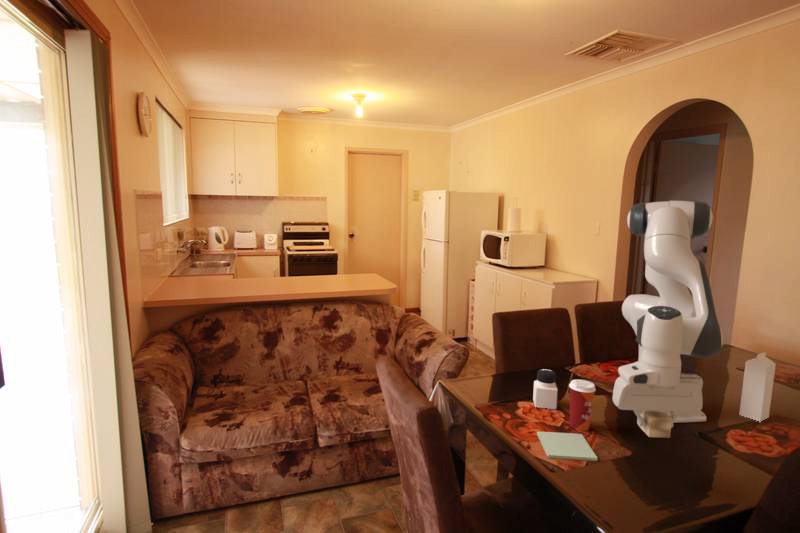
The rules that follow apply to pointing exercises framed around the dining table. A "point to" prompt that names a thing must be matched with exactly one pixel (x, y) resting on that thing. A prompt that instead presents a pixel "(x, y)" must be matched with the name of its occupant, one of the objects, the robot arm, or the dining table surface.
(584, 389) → the paper cup
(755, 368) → the milk
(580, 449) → the board
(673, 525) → the dining table surface
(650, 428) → the cube
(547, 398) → the medicine bottle
